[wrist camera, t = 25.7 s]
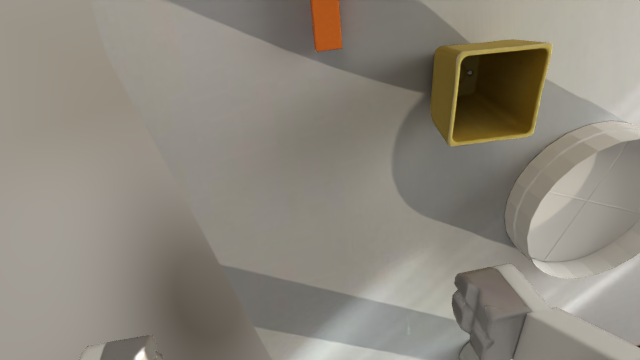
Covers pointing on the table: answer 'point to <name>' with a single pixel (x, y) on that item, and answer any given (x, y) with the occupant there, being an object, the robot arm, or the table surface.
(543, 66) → the flower pot
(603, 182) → the dish
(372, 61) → the table surface
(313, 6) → the orange ring
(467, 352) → the vase
